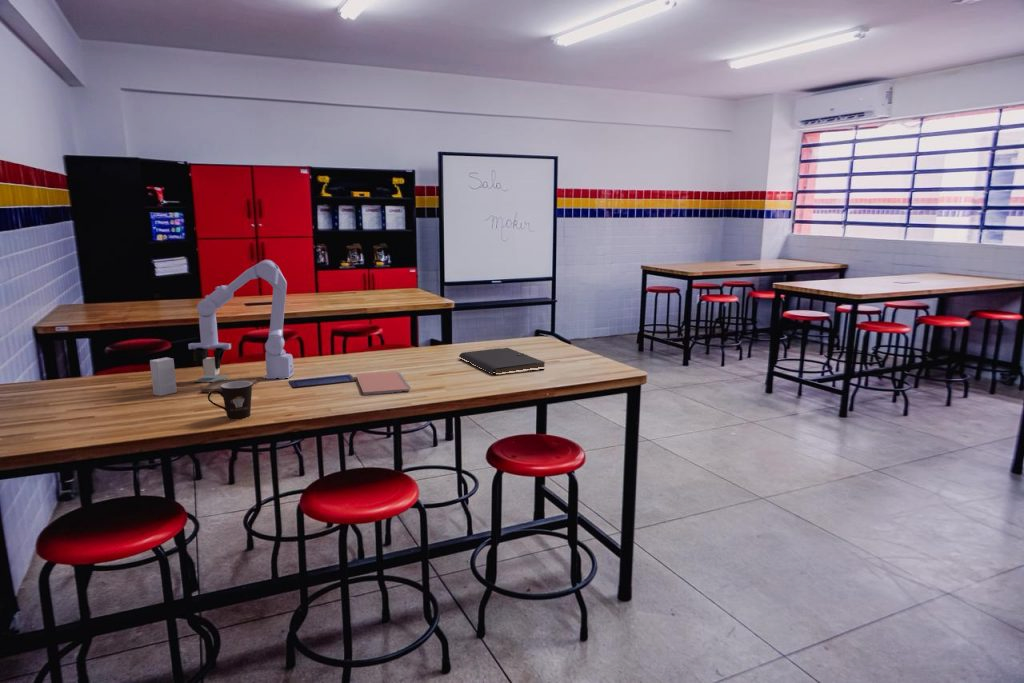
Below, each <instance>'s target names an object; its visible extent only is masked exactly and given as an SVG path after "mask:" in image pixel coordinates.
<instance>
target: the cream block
mask: <svg viewBox="0 0 1024 683" xmlns="http://www.w3.org/2000/svg"><path fill="white" fill-rule="evenodd" d="M203 368H204V369H203ZM202 369H203V377H204V376H218V375H219V374H220V368H218V369H216V366H215V357H214V356H213V357H208V356H207V358H205V359H203V366H202Z"/></svg>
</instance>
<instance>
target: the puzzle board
mask: <svg viewBox="0 0 1024 683" xmlns="http://www.w3.org/2000/svg"><path fill="white" fill-rule="evenodd" d="M234 381H249V382H252V387H254V386H255V385H257V384H256V383H257V379H225V380H222V379H217V380H215V381H214V382H212V383H208V384H207V385H205V386H204V387H202V388H201V393H202V392H212V391H215V390H216V391H220V392H222V389H221V385H222V384H224V383H228V382H234ZM254 384H255V385H254ZM253 385H254V386H253Z"/></svg>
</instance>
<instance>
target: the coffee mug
mask: <svg viewBox="0 0 1024 683" xmlns="http://www.w3.org/2000/svg"><path fill="white" fill-rule="evenodd" d="M221 389H222V392H220V391H216V390H215V391H212V392H210V393H207V399H208V401H209V403H211V404H212V405H213V406H216V407H218V408H221V409H223V410H224V411H225V413H226V417H228V418H230V419H229V420H231V419H239V420H243V419H242V418H245V419H247V418H246V417H248V418H249V416H251V409H252V408H251V407H252V395H253V394H252V390H253V386H252V382H249V381H234V382H228V383H224V384H222V385H221ZM215 392H216V393H215ZM212 394H219V395H220V396H221V397H222V398H223V402H224V406H222V405H220V404H217V403H215V402H213V400H211V395H212ZM228 418H227V419H228Z"/></svg>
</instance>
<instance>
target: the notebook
mask: <svg viewBox="0 0 1024 683" xmlns="http://www.w3.org/2000/svg"><path fill="white" fill-rule="evenodd" d="M355 376H356V380H357V381H358V382H357V383H358V384H359V387H360V388H361V391H362V394H363V395H364V396H368V395H381V394H383V393H384V394H393V393H394V392H397V393H403V392H402V391H409V392H410V389H411V390H412V388H411V385H409V383H408V382H407V381H406V379H405V378H404V376H403V375H402V374H401V372H399V371H398V370H397V371H396V370H395V371H384V372H383V371H382V372H381V371H380V372H365V373H356V374H355ZM404 381H405V382H404ZM408 387H409V388H410V389H409V388H408ZM384 394H383V395H384Z"/></svg>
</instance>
